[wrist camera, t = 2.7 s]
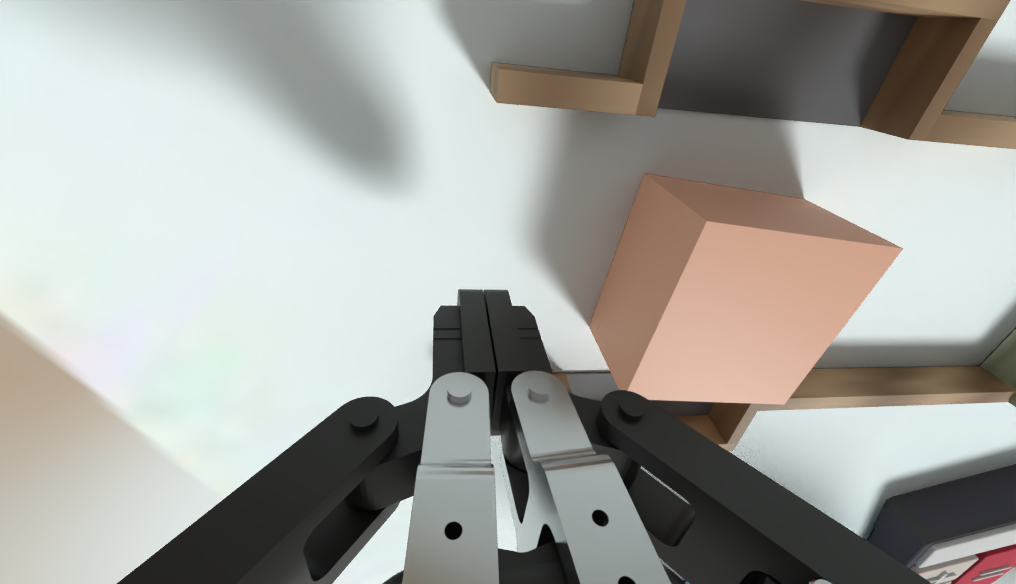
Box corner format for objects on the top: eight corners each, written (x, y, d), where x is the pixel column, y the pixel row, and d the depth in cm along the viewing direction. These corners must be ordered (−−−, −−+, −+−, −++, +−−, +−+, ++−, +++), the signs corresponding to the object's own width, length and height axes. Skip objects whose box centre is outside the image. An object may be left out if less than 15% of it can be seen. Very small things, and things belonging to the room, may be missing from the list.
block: (800, 197, 17) (903, 248, 13) (721, 333, 20) (784, 404, 17) (642, 171, 15) (706, 221, 12) (587, 323, 19) (623, 399, 15)
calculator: (875, 618, 38) (937, 555, 29) (839, 565, 41) (884, 495, 32) (996, 587, 38) (1097, 514, 29) (949, 537, 41) (1027, 457, 32)
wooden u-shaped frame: (1298, 53, 16) (1427, 59, 14) (948, 411, 26) (991, 445, 24) (501, -73, 11) (515, -94, 9) (465, 430, 21) (467, 474, 19)
